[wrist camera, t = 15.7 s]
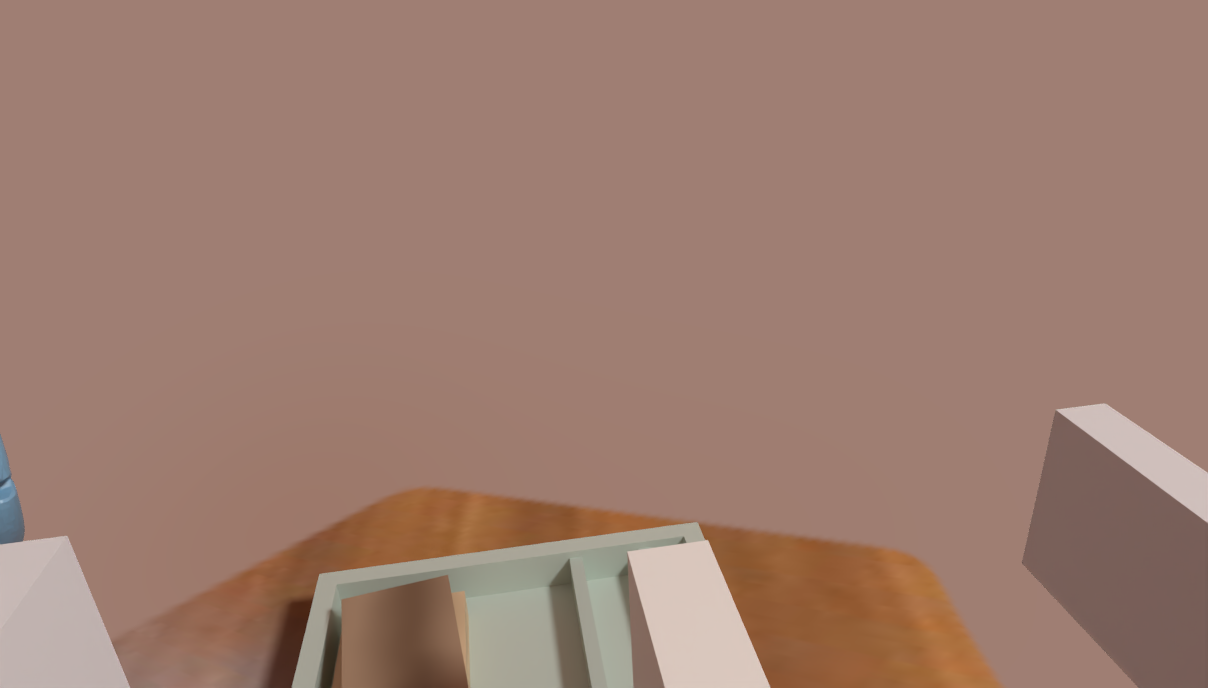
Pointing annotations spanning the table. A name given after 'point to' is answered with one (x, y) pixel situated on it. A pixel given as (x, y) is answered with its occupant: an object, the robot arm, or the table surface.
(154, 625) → the table surface
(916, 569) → the table surface
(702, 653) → the white rectangular block
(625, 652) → the tray
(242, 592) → the table surface
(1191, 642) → the robot arm
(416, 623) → the offcut upper
